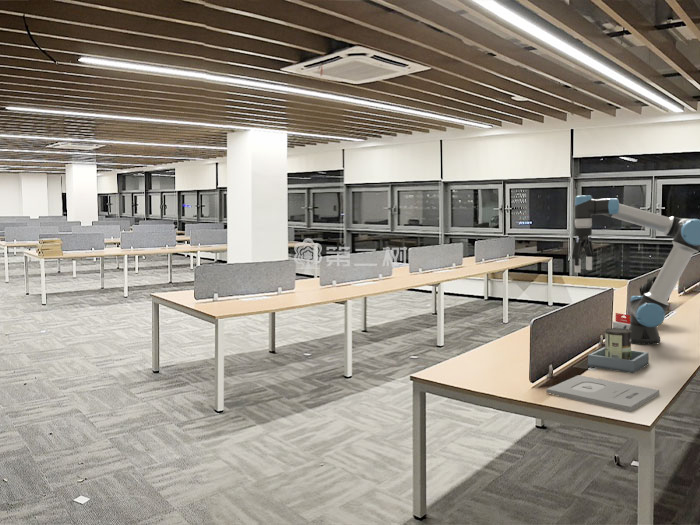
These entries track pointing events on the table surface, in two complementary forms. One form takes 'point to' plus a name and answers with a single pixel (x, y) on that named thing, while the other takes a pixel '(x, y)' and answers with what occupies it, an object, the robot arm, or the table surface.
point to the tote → (618, 361)
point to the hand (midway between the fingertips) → (583, 271)
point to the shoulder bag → (647, 285)
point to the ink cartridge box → (622, 321)
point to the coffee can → (618, 343)
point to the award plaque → (604, 392)
